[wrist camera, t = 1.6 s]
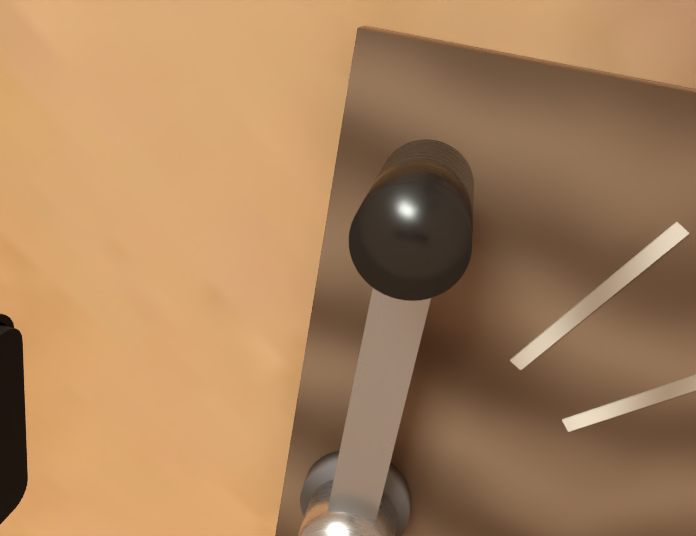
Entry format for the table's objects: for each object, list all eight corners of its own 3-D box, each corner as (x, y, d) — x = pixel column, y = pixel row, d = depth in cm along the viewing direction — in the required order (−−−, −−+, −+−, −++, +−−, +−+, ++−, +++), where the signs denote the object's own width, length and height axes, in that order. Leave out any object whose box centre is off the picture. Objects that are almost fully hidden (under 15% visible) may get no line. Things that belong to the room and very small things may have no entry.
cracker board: (364, 25, 23) (352, 29, 21) (920, 132, 21) (972, 148, 19) (283, 513, 33) (269, 551, 31) (657, 616, 31) (672, 665, 29)
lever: (381, 115, 22) (339, 168, 15) (499, 140, 21) (507, 204, 15) (303, 534, 30) (253, 685, 23) (387, 557, 29) (361, 718, 23)
